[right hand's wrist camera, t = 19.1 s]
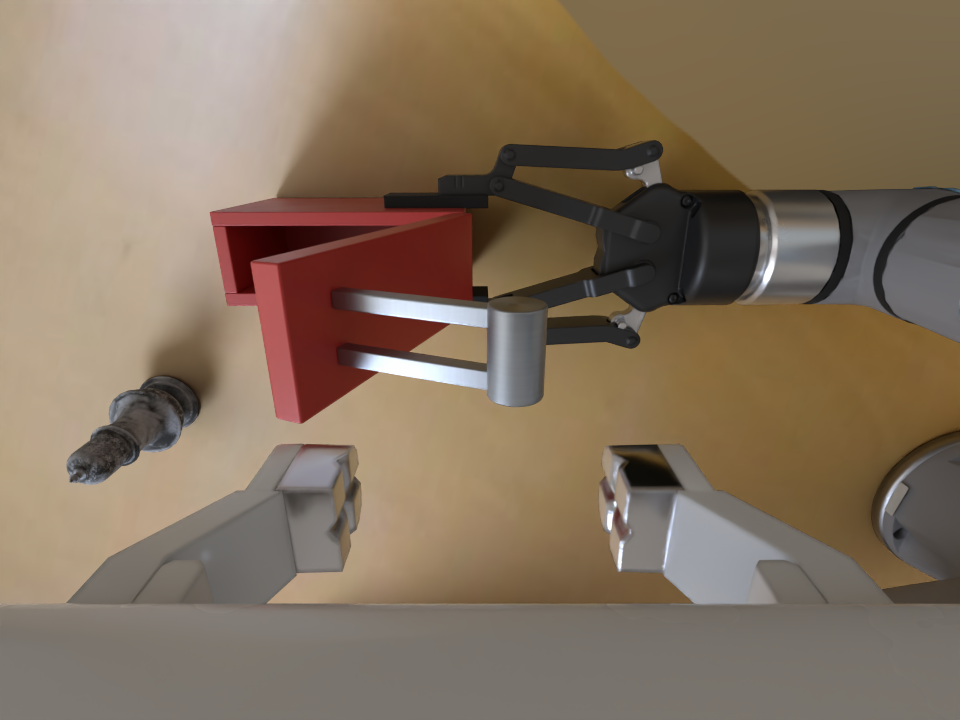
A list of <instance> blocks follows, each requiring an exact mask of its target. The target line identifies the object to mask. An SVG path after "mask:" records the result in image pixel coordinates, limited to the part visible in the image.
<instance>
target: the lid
mask: <svg viewBox="0 0 960 720" xmlns="http://www.w3.org/2000/svg"><path fill="white" fill-rule="evenodd" d="M251 269H252V275H253V281H254V287H255V293H256V299H257V305H258V311H259V317H260V323H261V329H262V335H263V341H264V347H265V353H266V358H267V364H268V370H269V376H270V382H271V388H272V394H273V400H274V406H275V412H276V417H277V418H278V419H282V420H286V421H291V422H295V423H300V424H301V423H304V422H305V421H307V420H308V419H310V418H311V417H313V416H314V415H316V414H317V413H319V412H320V411H322V410H323V409H325V408H326V407H328V406H329V405H331V404H332V403H334V402H335V401H337V400H338V399H339V398H341V397H342V396H344V395H345V394H347V393H348V392H350V391H351V390H353V389H354V388H356V387H357V386H359V385H360V384H362V383H363V382H365V381H366V380H368V379H369V378H371V377H372V376H374V375H375V374H377V373H378V372H384V373H390V374H396V375H402V376H407V377H413V378H419V379H425V380H431V381H437V382H443V383H448V384H454V385H460V386H466V387H472V388H478V389H483V390H487V396H488V398H489V399H490V400H491V401H493V402H495V403H497V404H500V405H504V406H509V407H524V406H530V405H533V404H536V403H538V402H539V401H540V400H541V399H542V398H543V395H544V375H545V355H546V335H547V315H548V305H547V303H546V302H544V301H542V300H539V299H536V298H530V297H520V296H512V297H502V298H497V299H494V300H491V301H490V302H489V303H486V302H477V301H473V298H472V214H471V213H451V214H447V215H443V216H439V217H434V218H430V219H426V220H422V221H418V222H413V223H409V224H405V225H401V226H396V227H392V228H388V229H384V230H380V231H375V232H371V233H367V234H363V235H359V236H354V237H350V238H346V239H342V240H338V241H333V242H329V243H325V244H321V245H317V246H312V247H308V248H304V249H300V250H296V251H291V252H287V253H283V254H279V255H275V256H270V257H266V258H262V259H258V260H253V261H252V262H251ZM449 324H458V325H466V326H474V327H482V328H487V364H485V363H478V362H472V361H465V360H458V359H452V358H445V357H439V356H432V355H426V354H419V353H412V352H409V351H411V350H412V349H414V348H415V347H417V346H418V345H420V344H421V343H423V342H424V341H426V340H427V339H429V338H430V337H432V336H433V335H435V334H436V333H437V332H439V331H440V330H442V329H443V328H445V327H446V326H448V325H449Z"/></svg>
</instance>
